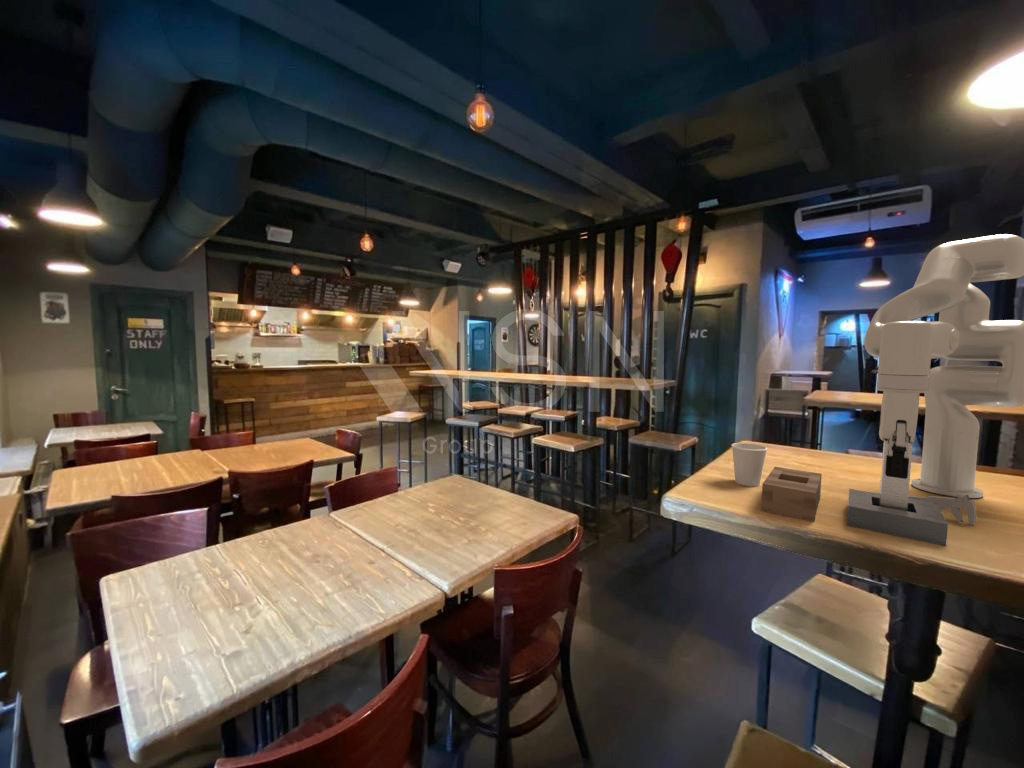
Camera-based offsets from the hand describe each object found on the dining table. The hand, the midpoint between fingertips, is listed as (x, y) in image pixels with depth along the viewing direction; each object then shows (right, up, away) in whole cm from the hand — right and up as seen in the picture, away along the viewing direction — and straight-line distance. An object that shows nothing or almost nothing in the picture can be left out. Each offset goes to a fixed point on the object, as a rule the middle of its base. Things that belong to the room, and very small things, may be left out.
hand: (895, 473), depth 85 cm
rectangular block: (0, -8, +1) cm, 8 cm away
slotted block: (-13, -9, +11) cm, 20 cm away
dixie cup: (-15, -8, +27) cm, 32 cm away
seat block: (0, -10, +1) cm, 10 cm away
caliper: (+12, -10, +9) cm, 18 cm away
